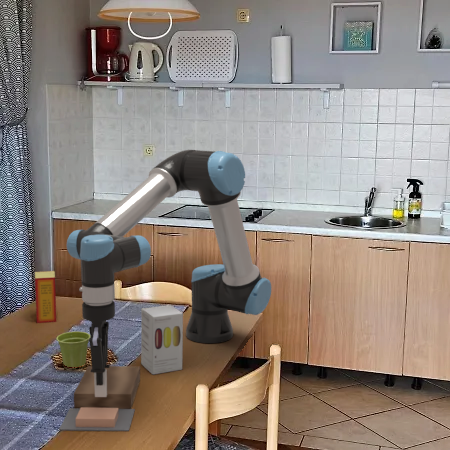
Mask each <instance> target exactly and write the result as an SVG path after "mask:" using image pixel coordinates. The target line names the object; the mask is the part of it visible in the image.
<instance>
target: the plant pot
mask: <svg viewBox="0 0 450 450" xmlns="http://www.w3.org/2000/svg"><path fill="white" fill-rule="evenodd" d="M89 338H91V335H90V333H88V332H84V331H67V332H63V333H61V334H59V335H57V337H56V341H57V342H58V343H57V344H58V345H59V348H60V353H61V358H62V365H63V364H64V365H65V366H67V367H79V366H82V365H84V364H85V363H87V354H88V344H89ZM64 365H63V366H64ZM85 365H86V364H85Z"/></svg>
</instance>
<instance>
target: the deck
mask: <svg viewBox="0 0 450 450" xmlns="http://www.w3.org/2000/svg"><path fill="white" fill-rule="evenodd" d="M91 369H92V365H88V366H87V367H86V369H85V371H84V373H83V375H82V376H81V379H80V380H79V382H78V385H77V387H76V388H75V391H74V393H73V408H81V407H88V408H118V409H133V408H132V407H133V404H134V401H135V399H136V396H137V392H138V388H139V385H140V382H141V366H134V365H133V366H126V365H125V366H123V365H122V366H121V365H120V366H119V365H118V366H117V365H116V366H115V365H110V367H109V368H105V369H107V396H106V397H95V384H94V373H93V372H91Z"/></svg>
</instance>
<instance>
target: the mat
mask: <svg viewBox="0 0 450 450" xmlns="http://www.w3.org/2000/svg"><path fill="white" fill-rule="evenodd" d="M79 410H80V408H74V407H73V408H71V407H70V408H69V409H68V411H67V413H66V416H65V417H64V419H63V421H62V423H61V425H60V426H59V431H76V432H77V431H78V432H81V431H86V432H89V431H90V432H92V431H93V432H94V431H95V432H130V429H131V425H132V421H133V418H134V414H135V410H136V409H135V408H131V409H118V412H119V416H118V419H117V422H116V424H115V427H76V417H77V415H78V413H79Z"/></svg>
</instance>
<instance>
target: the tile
mask: <svg viewBox="0 0 450 450" xmlns="http://www.w3.org/2000/svg"><path fill="white" fill-rule="evenodd" d="M118 416H119V412H118V408H88V407H81V408H80V410H79V413H78V415H77V417H76V427H115V424H116V422H117V419H118Z"/></svg>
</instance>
